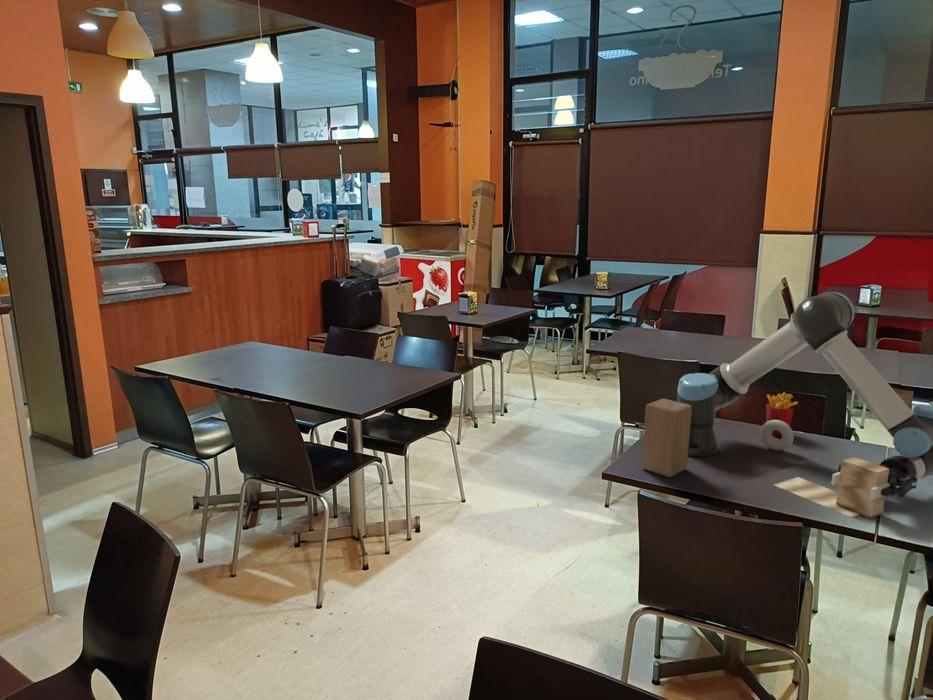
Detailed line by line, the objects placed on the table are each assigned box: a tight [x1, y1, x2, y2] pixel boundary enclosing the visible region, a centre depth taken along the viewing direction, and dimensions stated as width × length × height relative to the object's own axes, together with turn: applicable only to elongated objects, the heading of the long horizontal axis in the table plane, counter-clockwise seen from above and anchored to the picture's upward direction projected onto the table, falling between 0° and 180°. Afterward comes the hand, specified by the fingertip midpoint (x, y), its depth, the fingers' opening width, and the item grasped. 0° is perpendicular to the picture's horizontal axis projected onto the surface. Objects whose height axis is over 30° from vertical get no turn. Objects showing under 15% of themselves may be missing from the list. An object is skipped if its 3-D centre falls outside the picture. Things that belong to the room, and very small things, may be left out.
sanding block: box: [836, 456, 889, 519], centre depth 170 cm, size 9×5×12 cm, turn 30°
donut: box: [759, 420, 794, 452], centre depth 215 cm, size 10×4×10 cm, turn 49°
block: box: [641, 398, 692, 478], centre depth 198 cm, size 10×10×20 cm
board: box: [773, 476, 860, 518], centre depth 180 cm, size 22×11×2 cm, turn 30°
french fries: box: [765, 392, 799, 437], centre depth 228 cm, size 9×8×15 cm
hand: (852, 486), depth 168 cm, fingers closed on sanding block, 9 cm apart
